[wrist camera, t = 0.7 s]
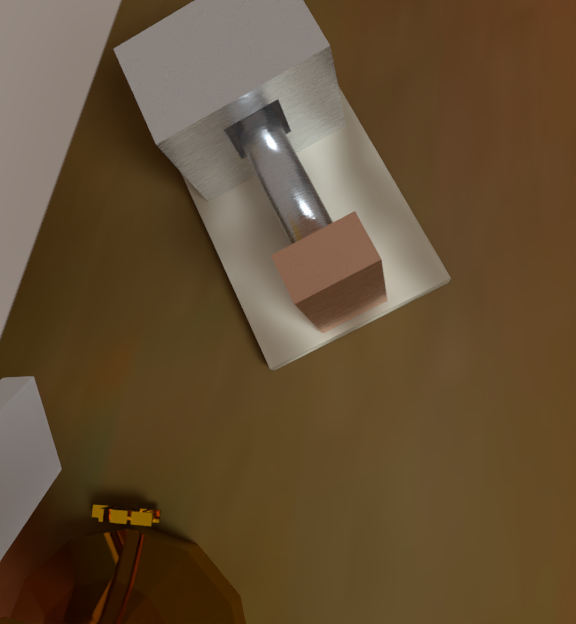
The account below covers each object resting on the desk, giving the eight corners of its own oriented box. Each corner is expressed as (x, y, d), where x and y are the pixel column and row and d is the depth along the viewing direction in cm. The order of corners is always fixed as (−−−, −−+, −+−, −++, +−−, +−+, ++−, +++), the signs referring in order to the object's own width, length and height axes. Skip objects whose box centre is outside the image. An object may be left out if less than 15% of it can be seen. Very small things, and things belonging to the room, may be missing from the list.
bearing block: (301, 47, 42) (274, -48, 33) (346, 126, 40) (330, 45, 31) (171, 122, 43) (113, 48, 35) (208, 201, 41) (156, 144, 33)
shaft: (282, 106, 41) (245, 11, 32) (387, 300, 36) (381, 259, 27) (226, 137, 42) (172, 53, 32) (322, 333, 37) (294, 304, 27)
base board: (309, 42, 43) (307, 32, 42) (449, 282, 37) (450, 278, 36) (162, 126, 45) (156, 118, 44) (274, 370, 39) (270, 369, 38)
